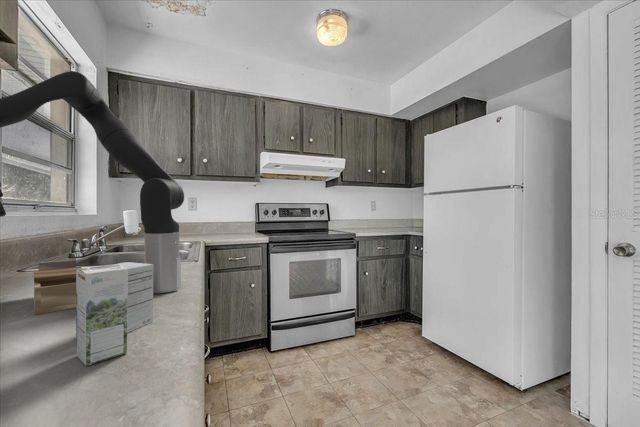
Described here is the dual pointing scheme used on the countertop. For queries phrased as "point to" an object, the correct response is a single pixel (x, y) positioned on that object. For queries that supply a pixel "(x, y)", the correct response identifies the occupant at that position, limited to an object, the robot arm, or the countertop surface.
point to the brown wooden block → (55, 270)
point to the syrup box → (101, 313)
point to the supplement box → (139, 294)
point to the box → (54, 295)
